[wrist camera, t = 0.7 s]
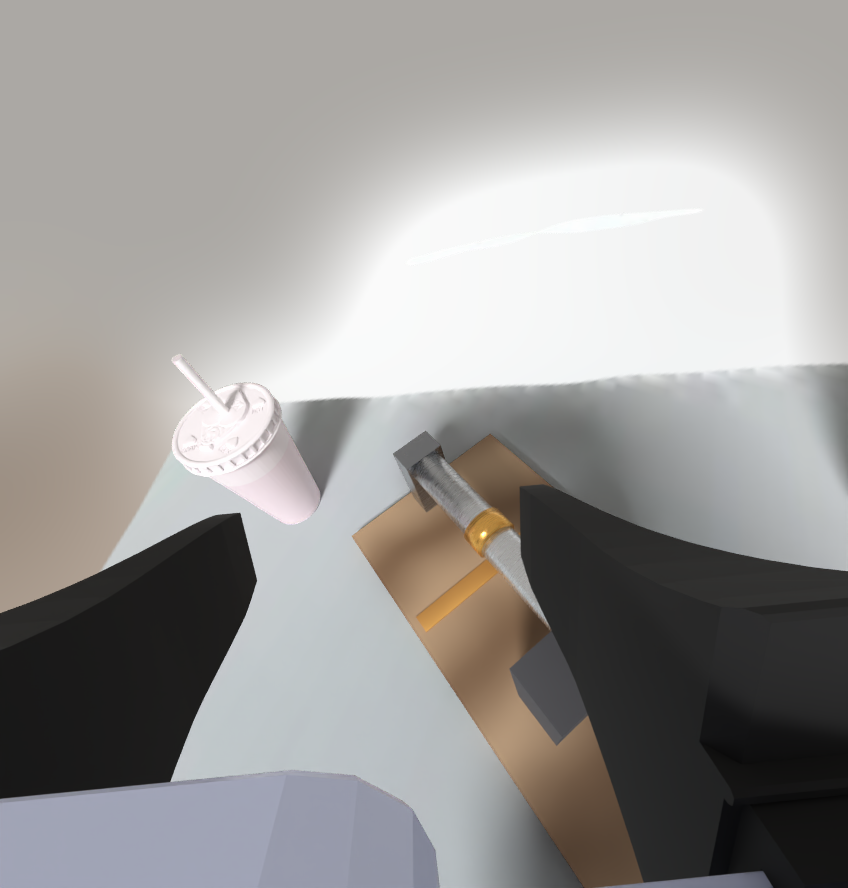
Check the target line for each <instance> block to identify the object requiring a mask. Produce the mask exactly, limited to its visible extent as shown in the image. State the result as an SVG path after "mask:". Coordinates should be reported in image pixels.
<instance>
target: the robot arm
mask: <svg viewBox="0 0 848 888" xmlns="http://www.w3.org/2000/svg"><path fill="white" fill-rule="evenodd" d="M520 545H521V558H522V561H523V565H524V568H525V571H526V574H527V577H528V580H529V583H530V586H531V589H532V591H533V593H534V595H535V597H536V599H537V601H538V604H539V606H540V608H541V610H542V612H543V614H544V616H545V618H546V620H547V622H548V624H549V626H550V628H551V630H552V632H553V635H554V637H555V639H556V641H557V643H558V645H559V647H560V649H561V651H562V653H563V655H564V657H565V659H566V661H567V663H568V665H569V668H570V670H571V672H572V675H573V677H574V679H575V682H576V684H577V687H578V689H579V692H580V695H581V698H582V700H583V703H584V706H585V709H586V711H587V714H588V717H589V720H590V722H591V725H592V728H593V731H594V734H595V736H596V739H597V742H598V745H599V748H600V751H601V754H602V757H603V759H604V762H605V765H606V768H607V771H608V774H609V777H610V780H611V783H612V786H613V789H614V792H615V795H616V798H617V801H618V804H619V807H620V810H621V813H622V816H623V819H624V822H625V825H626V828H627V831H628V835H629V838H630V841H631V844H632V847H633V850H634V853H635V857H636V860H637V863H638V866H639V869H640V873H641V876H642V879H643V882H644V883H638V884H628V885H618V886H608V887H598V888H848V571H840V570H831V569H822V568H814V567H807V566H801V565H795V564H788V563H782V562H776V561H770V560H764V559H759V558H754V557H749V556H744V555H739V554H734V553H730V552H726V551H722V550H718V549H713V548H709V547H705V546H701V545H697V544H693V543H690V542H686V541H683V540H679V539H676V538H673V537H670V536H667V535H664V534H660V533H657V532H654V531H651V530H648V529H646V528H643V527H640V526H637V525H635V524H632V523H630V522H627V521H625V520H622V519H620V518H618V517H615V516H613V515H610V514H608V513H606V512H604V511H601V510H599V509H597V508H595V507H593V506H591V505H588V504H586V503H584V502H582V501H580V500H578V499H576V498H574V497H572V496H570V495H568V494H566V493H563V492H561V491H559V490H557V489H555V488H552V487H550V486H547V485H544V484H540V485H530V486H520ZM256 582H257V578H256V574H255V570H254V566H253V562H252V558H251V554H250V550H249V546H248V542H247V538H246V534H245V530H244V526H243V522H242V518H241V514H240V513H232V514H222V515H215V516H212V517H209V518H207V519H204V520H202V521H200V522H198V523H196V524H194V525H191V526H189V527H188V528H186V529H184V530H182V531H180V532H178V533H176V534H174V535H172V536H170V537H168V538H166V539H164V540H162V541H161V542H159V543H157V544H155V545H153V546H151V547H149V548H147V549H145V550H143V551H141V552H140V553H138V554H136V555H133V556H131V557H129V558H127V559H125V560H123V561H121V562H119V563H117V564H115V565H113V566H111V567H109V568H107V569H105V570H103V571H101V572H99V573H97V574H95V575H93V576H91V577H89V578H87V579H84V580H82V581H80V582H77V583H75V584H73V585H71V586H69V587H66V588H64V589H61V590H59V591H56V592H54V593H52V594H50V595H47V596H44V597H42V598H40V599H37V600H35V601H32V602H30V603H27V604H24V605H22V606H19V607H16V608H14V609H11V610H8V611H5V612H2V613H0V888H440V885H439V877H438V869H437V860H436V852H435V849H434V847H433V845H432V843H431V842H430V840H429V838H428V836H427V834H426V833H425V831H424V829H423V827H422V825H421V824H420V822H419V820H418V818H417V816H416V815H415V813H414V811H413V809H411V808H410V807H409V806H408V805H407V804H406V803H404V802H403V801H402V800H400V799H398V798H396V797H395V796H393V795H391V794H389V793H387V792H385V791H383V790H381V789H379V788H378V787H376V786H374V785H372V784H370V783H368V782H366V781H364V780H362V779H361V778H359V777H357V776H355V775H344V774H333V773H321V772H309V771H298V770H288V771H278V772H268V773H258V774H248V775H238V776H228V777H217V778H207V779H197V780H187V781H177V782H170V781H171V778H172V775H173V773H174V770H175V767H176V764H177V762H178V759H179V757H180V754H181V752H182V749H183V746H184V744H185V741H186V739H187V736H188V734H189V731H190V728H191V726H192V723H193V721H194V719H195V716H196V714H197V712H198V710H199V708H200V705H201V703H202V701H203V699H204V697H205V695H206V693H207V691H208V689H209V687H210V685H211V683H212V681H213V679H214V677H215V675H216V673H217V671H218V670H219V668H220V666H221V664H222V662H223V660H224V658H225V656H226V654H227V652H228V650H229V648H230V646H231V644H232V642H233V640H234V638H235V636H236V634H237V632H238V630H239V628H240V626H241V624H242V622H243V620H244V618H245V615H246V613H247V610H248V607H249V604H250V601H251V598H252V595H253V592H254V589H255V585H256Z"/></svg>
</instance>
